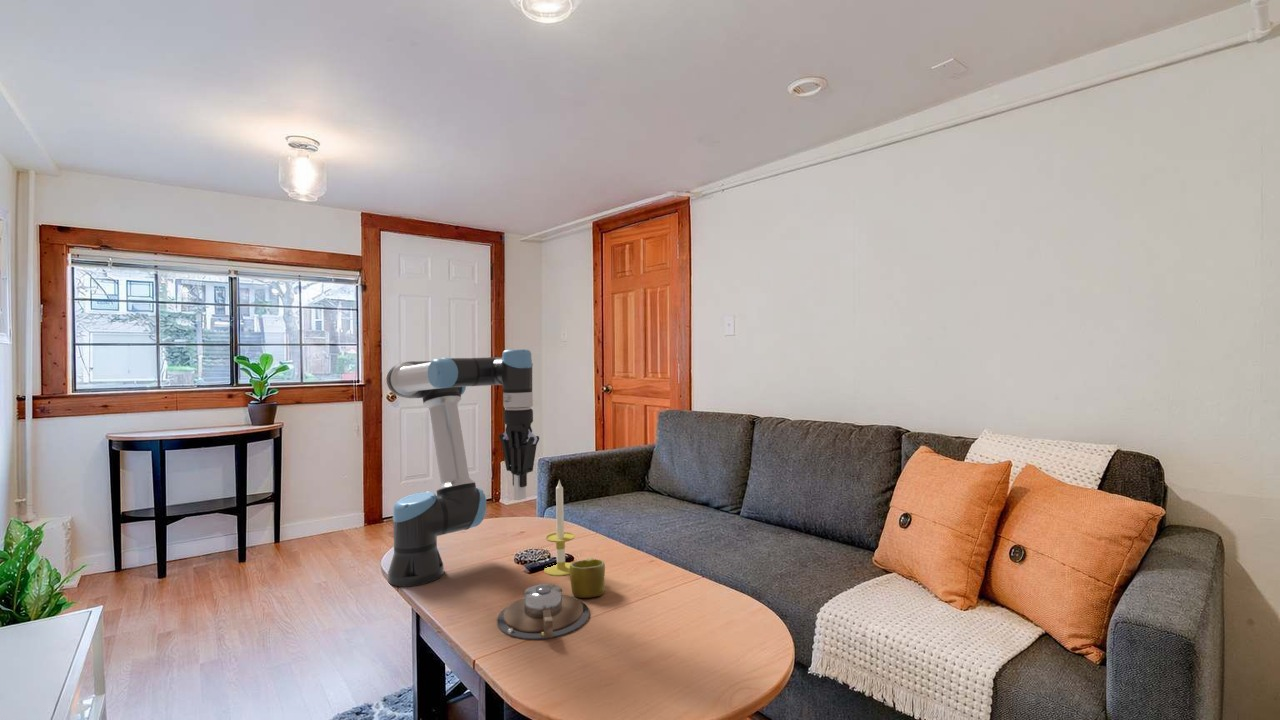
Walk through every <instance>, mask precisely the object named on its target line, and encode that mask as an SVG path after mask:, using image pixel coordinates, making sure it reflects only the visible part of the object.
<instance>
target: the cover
mask: <svg viewBox="0 0 1280 720" xmlns="http://www.w3.org/2000/svg"><path fill="white" fill-rule="evenodd" d="M562 595H563V589H562V588H561V586H558V585H556V584H551V583H541V584H540V583H539V584H535V585H532V586H529V587H528V588H526V589H525V590H524V597H523V598H524V612H525V614H526V615H527V616H529V617H532V618H543V610H550V612H551V616H552V617H553V616H555V615H557V614H559V613H560V612H561V611H562Z"/></svg>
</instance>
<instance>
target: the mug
mask: <svg viewBox="0 0 1280 720" xmlns="http://www.w3.org/2000/svg"><path fill="white" fill-rule="evenodd" d="M570 563H571V564H570V574H569V578H570V587H571V592H572V595H573V596H574V598H580V599H590V598H595V597H600V596H603V594H604V592H605V590H606V589H605V588H606V586H605V571H606V565H605V562H604V561H603V560H602V559H596V558H595V559H594V558H593V557H589V558H586V559H581V560H576V561H573V562H570Z"/></svg>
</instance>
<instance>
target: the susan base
mask: <svg viewBox="0 0 1280 720" xmlns="http://www.w3.org/2000/svg"><path fill="white" fill-rule="evenodd" d="M578 600H579V601H580V602H581V603H582V605H583V614H582V616H581V617H580V618H579V619H578V620H577V621H576V622H575V623H573V624H571V625H569V626H567V627H564V628H561V629H558V630H554V631H553V637H549V638H545V632H544V631H542V632H524V631H519V630H515V629H513V628H511V627H509V626H508V625H507V624H506V623H505V621H504V612H505V610H506V608H507V607H505V608H504V609H503V610H501V612H500V613H499V614H498V616H497V627H498V629H499V630H500V631H501V632H502V633H504V634H505V635H507V636H509V637H512V638H516V639H521V640H534V641H535V640H537V641H539V640H549V639H553V638H559V637H562V636H566V635H568V634H570V633H573V632H575V631H577V630H578V629H581V628H582V627H583V626H584V625H585V624H586V623H587V622H588V620H589V619H590V618H589V617H590V609H589V606H587V604H586V603H585V602H583V601H581V600H580V599H578Z"/></svg>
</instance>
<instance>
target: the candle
mask: <svg viewBox="0 0 1280 720" xmlns="http://www.w3.org/2000/svg"><path fill="white" fill-rule="evenodd" d="M555 501H556V502H555V503H556V505H555V510H556V515H555V516H556V517H555V518H556V532H552V533H550V534H548V535H546V537H545V539H546V541H548V542H551V543H555V544H556V545H555V547H556V549H555V550H556V563H557V564H556V565H553V566H551V567H547V566H546V567H547V568H545V567H544V570H543V572H544V573H545V574H546V575H548V576H553V577H564V576H570V564H571V563H572V562H566V542H570V541H573V540H574V539H575V537H576V535H575V534H574V533H573V532H568V531H565V526H564V525H565V523H564V522H565V521H564V520H565V519H564V516H565V515H564V514H565V513H564V511H565V510H564V487H563V486H562V484H561V480H560V479H558V483H557V486H556V487H555Z"/></svg>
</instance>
